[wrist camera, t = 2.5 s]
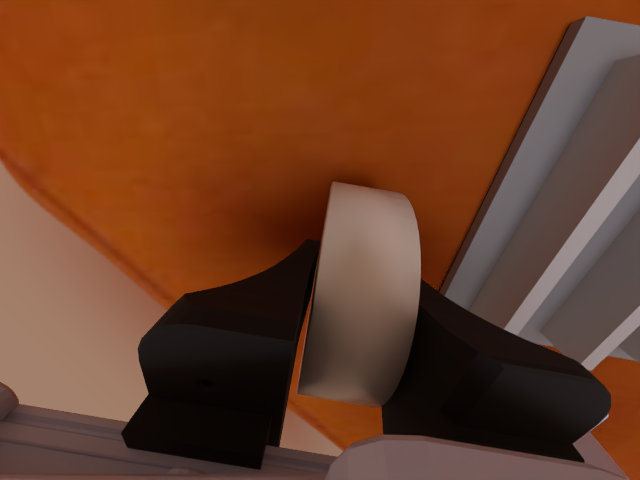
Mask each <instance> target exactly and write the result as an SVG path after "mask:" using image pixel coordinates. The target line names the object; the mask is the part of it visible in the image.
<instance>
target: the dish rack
mask: <svg viewBox="0 0 640 480" xmlns="http://www.w3.org/2000/svg"><path fill="white" fill-rule="evenodd" d="M439 293H441V294H442V295H444V296H445V297H447V298H448V299H450V300H452V301H453V302H455V303H456V304H458V305H459V306H461V307H463V308H464V309H466V310H468V311H470V312H471V313H473V314H475V315H477V316H479V317H481V318H482V319H484V320H486V321H488V322H490V323H492V324H494V325H496V326H498V327H500V328H502V329H504V330H506V331H508V332H510V333H513V334H515V335H517V336H519V337H521V338H523V339H526V340H528V341H530V342H533V343H535V344H540V345H546V346H552V347H556V348H557V349H558V350H559V351H560V352H561V353H562V354H563V355H564V356H567V357H569V358H572V359H574V360H576V361H578V362H579V363H580V364H581V365H583V366H584V367H585V368H586V369H587V370H591V371H592V370H593V369H594V368H595V367H596V366H597V365H598V364H599V363H600V362H601V361H602V360H603V359H604V358H605V357H606V356H611V357H617V358H622V359H628V360H634V361H637V362H639V363H640V26H639V25H633V24H627V23H622V22H616V21H611V20H605V19H600V18H594V17H588V16H586V17H583V18H581V19H579V20H577V21H575V22H573V23H571V24H570V26H569V28H568V30H567V32H566V34H565V36H564V38H563V40H562V42H561V44H560V46H559V48H558V50H557V52H556V54H555V56H554V58H553V60H552V62H551V64H550V66H549V69H548V71H547V73H546V75H545V77H544V79H543V81H542V83H541V85H540V87H539V89H538V91H537V93H536V95H535V97H534V99H533V101H532V103H531V105H530V107H529V109H528V111H527V114H526V116H525V118H524V120H523V122H522V124H521V126H520V128H519V130H518V132H517V134H516V136H515V138H514V140H513V142H512V144H511V146H510V148H509V150H508V152H507V154H506V156H505V158H504V161H503V163H502V165H501V167H500V169H499V171H498V173H497V175H496V177H495V179H494V181H493V183H492V185H491V187H490V189H489V191H488V193H487V195H486V197H485V199H484V201H483V203H482V206H481V208H480V210H479V212H478V214H477V216H476V218H475V220H474V222H473V224H472V226H471V228H470V230H469V232H468V234H467V236H466V238H465V240H464V242H463V244H462V246H461V248H460V251H459V253H458V255H457V257H456V259H455V261H454V263H453V265H452V267H451V269H450V271H449V273H448V275H447V277H446V279H445V281H444V283H443V285H442V287H441V289H440V291H439Z"/></svg>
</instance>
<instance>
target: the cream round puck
mask: <svg viewBox="0 0 640 480" xmlns="http://www.w3.org/2000/svg"><path fill="white" fill-rule="evenodd" d="M420 279H421V251H420V240H419V231H418V226H417V220H416V217H415V213H414V210H413V208H412V205H411V203H410V201H409V200H408V199H407V197H406V196H405V195H403V194H402V193H398V192H392V191H387V190H381V189H375V188H369V187H364V186H358V185H352V184H346V183H341V182H335V181H333V182H332V186H331V188H330V193H329V199H328V205H327V210H326V216H325V221H324V227H323V233H322V238H321V244H320V250H319V255H318V261H317V266H316V272H315V278H314V284H313V290H312V296H311V302H310V308H309V314H308V320H307V327H306V333H305V339H304V345H303V352H302V358H301V365H300V371H299V378H298V386H297V394H298V395H304V396H310V397H316V398H322V399H328V400H334V401H340V402H346V403H352V404H357V405H363V406H369V407H380V406H382V405H384V404H385V403H386V402H387V401H388V400H389V399H390V398H391V397H392V395H393V393H394V392H395V390H396V388H397V386H398V384H399V382H400V380H401V377H402V375H403V373H404V370H405V367H406V363H407V360H408V357H409V354H410V350H411V345H412V341H413V337H414V332H415V326H416V320H417V314H418V305H419V296H420Z"/></svg>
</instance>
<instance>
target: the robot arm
mask: <svg viewBox="0 0 640 480" xmlns="http://www.w3.org/2000/svg"><path fill="white" fill-rule="evenodd" d="M319 248H320V241H317V240H311V239H307V240H305V241H304V243H303V244H302V245H301V246H300V247H298V248H297V249H296V250H295V251H294V252H293V253H291V254H290V255H289V256H288V257H286V258H285V259H284V260H282V261H281V262H279V263H278V264H276V265H275V266H273V267H271V268H269V269H267V270H265V271H263V272H261V273H259V274H256V275H254V276H251V277H249V278H247V279H244V280H241V281H238V282H235V283H232V284H228V285H224V286H221V287H217V288H212V289H207V290H202V291H197V292H193V293H187V294H184V295H183V296H182V297H181V298H180V299H179V300H178V301H177V302H176V303H175V304H174V305H172V306H171V308H170V309H169V310H168V311H167V312H166V313H165V314H164V315H163V316H162V317H161V318H160V319H159V320H158V322H157V323H156V324H155V325H154V326H153V327H152V328H151V329H150V330H149V331H148V332H147V334H145V335H144V337H143V338H142V339H141V341H140V344H139V347H138V354H139V362H140V366H141V369H142V372H143V376H144V379H145V383H146V386H147V389H148V393H149V394H148V396H147V397H146V398H145V400H144V401H143V403H142V404H141V405H140V407H139V408H138V409H137V411H136V412H135V414H134V415H133V416H132V418H131V419H130V421H129V422H124V421H118V420H112V419H105V418H100V417H94V416H88V415H82V414H76V413H69V412H64V411H58V410H52V409H46V408H40V407H34V406H28V405H21V404H19V400H18V398H17V396H16V394H15V393H14V392H13V391H12V390H11V389H10V388H9V387H8V386H6V385H5V384H3V383H1V382H0V480H630V479H629V478H628V477H627V475H626V474H625V473H624V472H623V471H622V469H621V468H620V467H619V466H618V465H617V464H616V462H615V461H614V460H613V459H612V458H611V456H610V455H609V454H608V453H607V452H606V450H605V449H604V448H603V447H602V446H601V444H600V443H599V442H598V441H597V440H596V439H595V437H594V436H593V435H592V434H591V433H590V431H591V430H592V429H594V428H595V427H596V426H598V425H599V424H600V423H601V422H603V421H604V420H605V419H607V418H608V417H609V414H608V412H609V410H610V408H611V395H610V393H609V392H608V390H607V389H606V387H605V386H604V385H603V384H602V383H601V382H600V381H599V380H597V379H596V378H595V377H594V376H593V375H592V374H591V373H590V372H589V371H588V370H587V369H586V368H585V367H584V366H583V365H581V364H580V363H579V362H578V361H576V360H574V359H572V358H569V357H567V356H564V355H562V354H559V353H557V352H555V351H552V350H550V349H547V348H545V347H542V346H540V345H537V344H535V343H533V342H530V341H528V340H526V339H523V338H521V337H519V336H517V335H515V334H513V333H510V332H508V331H506V330H504V329H502V328H500V327H498V326H496V325H494V324H492V323H490V322H488V321H486V320H484V319H482V318H481V317H479V316H477V315H475V314H473V313H471V312H470V311H468V310H466V309H464V308H463V307H461V306H459V305H458V304H456V303H455V302H453V301H452V300H450V299H448V298H447V297H445V296H444V295H442V294H441V293H439V292H438V291H437V290H435V289H434V288H433V287H431V286H430V285H429V284H427V283H426V282H425V281H423V280H422V279H420V296H419V305H418V314H417V320H416V326H415V332H414V337H413V341H412V345H411V350H410V354H409V357H408V360H407V363H406V367H405V370H404V373H403V375H402V377H401V380H400V382H399V384H398V386H397V388H396V390H395V392H394V393H393V395H392V397H391V398H390V399H389V400H388V401H387V402H386V403H385V404H384V405H382V420H383V435H380V436H376V437H373V438H369V439H366V440H362V441H358V442H355V443H352V444H351V445H350V446H349V447H348V448H347V449H346V450H345V451H344V452H343V453H342V454H341V455H340V456H338V457H335V456H329V455H323V454H317V453H311V452H305V451H298V450H293V449H287V448H281V447H279V445H280V439H281V434H282V429H283V423H284V417H285V412H286V406H287V401H288V395H289V390H290V384H291V379H292V373H293V368H294V362H295V357H296V351H297V346H298V341H299V337H300V333H301V329H302V326H303V322H304V318H305V315H306V311H307V308H308V304H309V301H310V297H311V293H312V288H313V282H314V276H315V271H316V265H317V259H318V254H319Z"/></svg>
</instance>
